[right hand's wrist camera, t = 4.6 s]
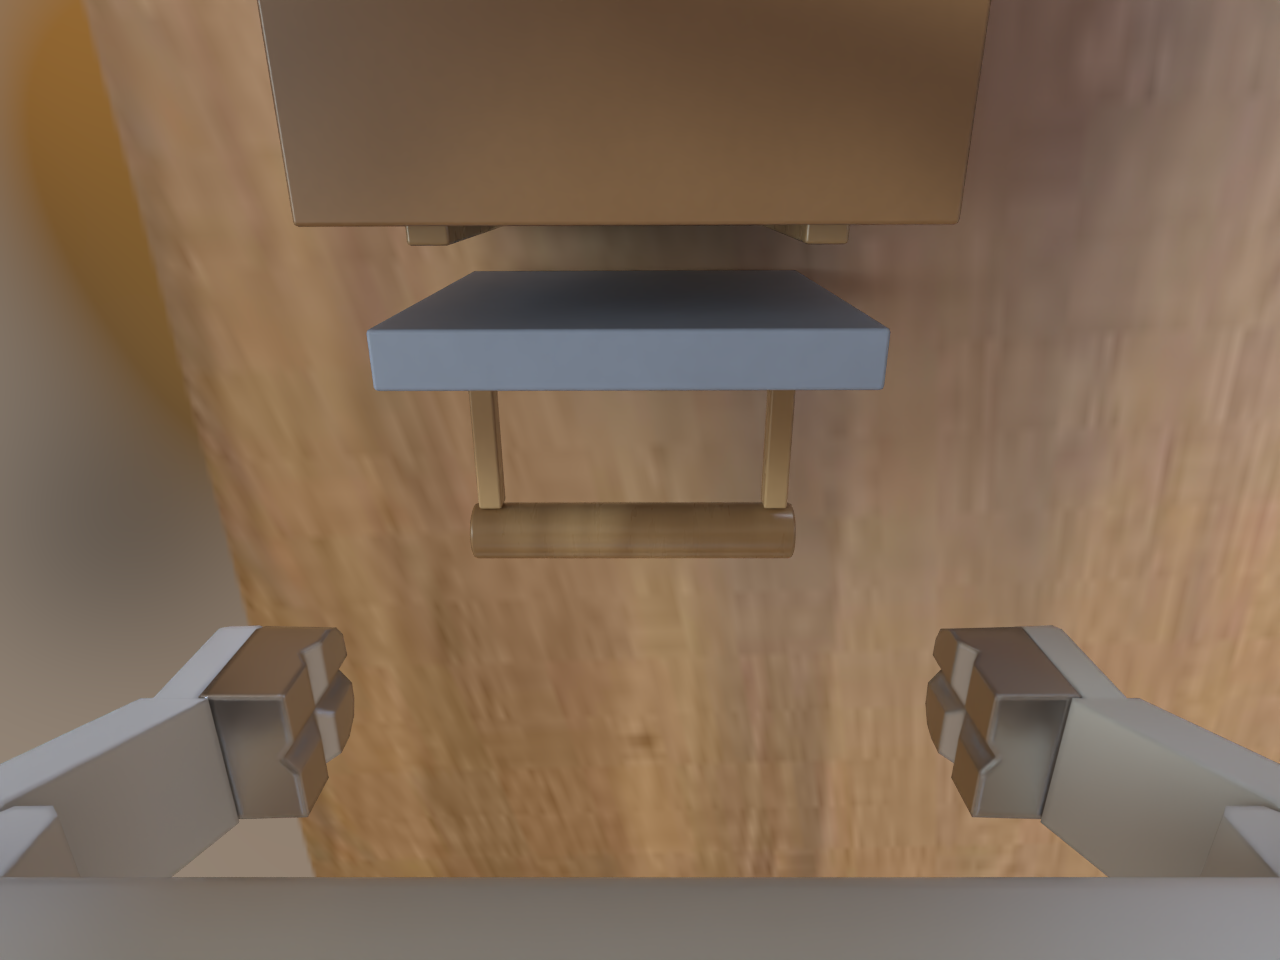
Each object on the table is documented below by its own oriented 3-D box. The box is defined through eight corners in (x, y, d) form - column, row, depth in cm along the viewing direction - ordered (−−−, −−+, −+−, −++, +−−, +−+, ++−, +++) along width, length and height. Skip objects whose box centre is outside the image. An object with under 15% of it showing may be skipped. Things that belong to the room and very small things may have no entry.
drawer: (782, 476, 26) (855, 636, 17) (489, 476, 26) (406, 636, 17) (840, -343, 18) (1033, -859, 9) (421, -340, 18) (201, -847, 9)
